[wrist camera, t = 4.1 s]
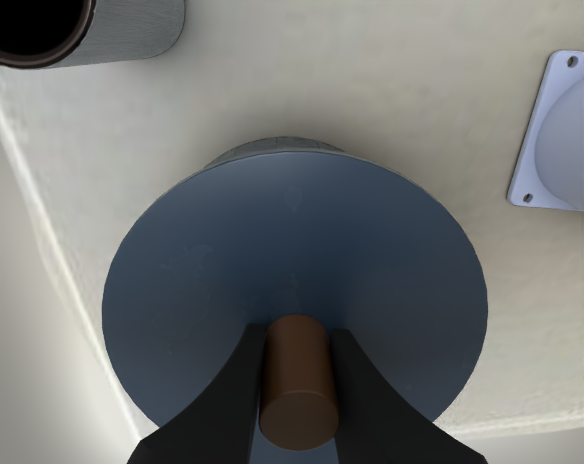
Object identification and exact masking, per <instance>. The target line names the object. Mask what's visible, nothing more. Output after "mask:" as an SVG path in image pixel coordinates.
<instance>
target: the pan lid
mask: <svg viewBox="0 0 584 464" xmlns="http://www.w3.org/2000/svg"><path fill="white" fill-rule="evenodd" d="M487 318H488V301H487V288H486V284H485V280H484V275H483V271H482V267H481V265H480V262H479V260H478V257H477V255H476V253H475V250H474V248H473V246H472V244H471V242H470V241H469V239H468V238H467V236H466V234H465V233H464V231H463V229H462V228H461V226H460V225H459V224H458V223H457V221H456V220H455V219H454V218H453V217H452V216H451V215H450V213H449V212H448V211H447V210H446V209H445V208H444V207H443V206H442V204H441V203H439V202H438V201H437V200H436V199H435V198H434V197H432V196H431V195H430V194H429V193H428V192H427V191H425V190H424V189H423V188H422V187H421V186H419V185H418V184H416V183H414V182H413V181H411V180H410V179H408V178H406V177H405V176H403V175H402V174H400V173H398V172H396V171H394V170H392V169H390V168H387V167H385V166H383V165H381V164H379V163H376V162H374V161H371V160H368V159H364V158H361V157H358V156H354V155H351V154H347V153H343V152H336V151H329V150H323V149H314V148H282V149H273V150H264V151H257V152H253V153H249V154H245V155H241V156H237V157H233V158H229V159H226V160H224V161H221V162H219V163H216V164H214V165H211V166H209V167H206V168H204V169H202V170H200V171H198V172H196V173H194V174H193V175H191V176H189V177H187V178H186V179H184V180H182V181H180V182H179V183H177V184H176V185H175V186H173V187H172V188H171V189H169V190H168V191H167V192H166V193H164V194H163V195H162V196H160V197H159V198H158V199H157V200H156V201H155V202H154V203H153V204H152V205H151V206H150V207H149V208H148V209H147V210H146V211H145V212H144V213H143V214H142V215H141V216H140V217H139V219H138V220H137V221H136V222H135V224H134V225H133V227H132V228H131V229H130V231H129V232H128V234H127V235H126V236H125V238H124V239H123V241H122V242H121V244H120V246H119V248H118V250H117V252H116V254H115V256H114V258H113V260H112V262H111V266H110V269H109V272H108V275H107V279H106V282H105V286H104V293H103V300H102V329H103V335H104V340H105V345H106V350H107V353H108V356H109V358H110V361H111V364H112V367H113V369H114V371H115V373H116V375H117V377H118V379H119V381H120V383H121V385H122V386H123V388H124V389H125V391H126V392H127V393H128V395H129V396H130V398H131V399H132V400H133V402H134V403H135V404H136V405H137V406H138V408H139V409H140V410H141V411H142V412H143V413H144V414H145V415H146V416H147V417H148V418H149V419H150V420H151V421H152V422H154V423H155V424H156V425H157V426H158V427H159V428H161V427H162V426H164V425H165V424H166V423H168V422H169V421H170V420H171V419H173V418H174V417H175V416H176V415H177V414H179V413H180V412H181V411H182V410H184V409H185V408H186V407H187V406H188V405H189V404H190V403H191V402H192V401H193V400H194V399H195V398H196V397H197V396H198V395H199V394H200V393H201V392H202V391H203V390H204V389H205V388H206V387H207V386H208V385H209V384H210V382H211V381H212V380H213V379H214V378H215V376H216V375H217V374H218V373H219V371H220V370H221V368H222V367H223V366H224V364H225V363H226V362H227V360H228V359H229V357H230V356H231V354H232V352H233V351H234V349H235V348H236V346H237V344H238V342H239V340H240V338H241V336H242V334H243V332H244V329H245V326H246V325H247V324H249V323H252V324H266V330H265V344H264V357H263V366H262V373H261V387H260V401H259V408H258V413H257V419H256V425H255V431H254V437H253V442H252V448H251V454H250V462H249V464H339V462H338V455H337V450H336V444H335V439H334V436H335V434H336V433H337V431H338V428H339V425H340V411H339V405H338V398H337V391H336V385H335V378H334V372H333V365H332V358H331V352H330V340H331V333H332V329H348V330H350V331H351V333H352V334H353V336H354V337H355V339H356V340H357V342H358V343H359V345H360V346H361V348H362V349H363V351H364V352H365V353H366V355H367V356H368V358H369V359H370V360H371V362H372V363H373V364H374V365H375V367H376V368H377V369H378V371H379V372H380V373H381V374H382V376H383V377H384V378H385V379H386V380H387V381H388V382H389V384H390V385H391V386H392V387H393V388H394V389H395V390H396V391H397V392H398V393H399V394H400V395H401V396H402V397H403V398H404V399H405V400H406V401H407V402H408V403H409V404H410V405H411V406H412V407H414V408H415V409H416V410H417V411H418V412H419V413H421V414H422V415H423V416H424V417H426V418H427V419H428V420H429V421H431V422H433V421H435V420H436V419H437V418H438V417H439V416H440V415H441V414H442V413H443V412H444V411H445V410H446V409H447V408H448V407H449V406H450V405H451V403H452V402H453V401H454V400H455V398H456V397H457V396H458V394H459V393H460V392H461V390H462V389H463V388H464V386H465V384H466V383H467V381H468V379H469V377H470V376H471V374H472V372H473V371H474V368H475V366H476V363H477V361H478V358H479V356H480V353H481V351H482V347H483V343H484V339H485V335H486V329H487Z"/></svg>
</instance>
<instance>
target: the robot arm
mask: <svg viewBox="0 0 584 464" xmlns="http://www.w3.org/2000/svg"><path fill="white" fill-rule="evenodd" d="M571 57H572V58H573V63H572V65H571V66H570V67H568V65H567V61H568V60H569V58H571ZM526 194H529V197H528V199H526V200H523V198H524V196H525V195H526ZM507 199H508V201H509V202H510V203H511V204H513V205H515V206H526V207H538V208H550V209H562V210H574V211H583V212H584V52H581V51H572V50H558V51H556V52H554V53H553V54H552V55H551V56H550V58H549V61H548V64H547V67H546V71H545V74H544V77H543V80H542V84H541V87H540V90H539V94H538V97H537V100H536V103H535V107H534V110H533V113H532V116H531V120H530V123H529V126H528V129H527V133H526V136H525V139H524V142H523V146H522V149H521V152H520V155H519V159H518V162H517V165H516V168H515V172H514V175H513V178H512V181H511V185H510V188H509V191H508V195H507ZM265 330H266V324H252V323H249V324H247V325H246V326H245V329H244V332H243V334H242V336H241V338H240V340H239V342H238V344H237V346H236V348H235V349H234V351H233V352H232V354H231V356H230V357H229V359H228V360H227V362H226V363H225V364H224V366H223V367H222V368H221V370H220V371H219V373H218V374H217V375H216V376H215V378H214V379H213V380H212V381H211V382H210V384H209V385H208V386H207V387H206V388H205V389H204V390H203V391H202V392H201V393H200V394H199V395H198V396H197V397H196V398H195V399H194V400H193V401H192V402H191V403H190V404H189V405H188V406H187V407H186V408H185V409H184V410H182V411H181V412H180V413H179V414H177V415H176V416H175V417H174V418H173V419H171V420H170V421H169V422H168V423H166V424H165V425H164V426H162V427H161V428H159V429H158V430H156V431H155V432H153V433H152V434H150V435H149V436H147V437H145V438H144V439H142V440H141V441H140V442H139V443H138V445H137V447H136V448H135V450H134V451H133V453H132V455H131V457H130V458H129V460H128V462H127V464H249V462H250V454H251V448H252V442H253V437H254V431H255V425H256V419H257V413H258V408H259V401H260V387H261V373H262V366H263V357H264V344H265ZM330 352H331V358H332V365H333V372H334V378H335V385H336V391H337V398H338V405H339V411H340V425H339V428H338V431H337V433H336V434H335V436H334V439H335V444H336V450H337V455H338V462H339V464H488V463H487V461H486V459H485V457H484V456H483V455H481V454H480V453H478V452H476V451H474V450H473V449H471V448H469V447H468V446H466V445H464V444H463V443H461V442H459V441H458V440H456V439H454V438H453V437H452V436H450V435H449V434H447V433H446V432H444V431H443V430H441V429H440V428H439V427H437V426H436V425H435V424H433V423H432V422H431V421H429V420H428V419H427V418H426V417H424V416H423V415H422V414H421V413H419V412H418V411H417V410H416V409H415V408H414V407H412V406H411V405H410V404H409V403H408V402H407V401H406V400H405V399H404V398H403V397H402V396H401V395H400V394H399V393H398V392H397V391H396V390H395V389H394V388H393V387H392V386H391V385H390V384H389V382H388V381H387V380H386V379H385V378H384V377H383V376H382V374H381V373H380V372H379V371H378V369H377V368H376V367H375V365H374V364H373V363H372V362H371V360H370V359H369V358H368V356H367V355H366V353H365V352H364V351H363V349H362V348H361V346H360V345H359V343H358V342H357V340H356V339H355V337H354V336H353V334H352V333H351V331H350V330H348V329H332V333H331V340H330Z"/></svg>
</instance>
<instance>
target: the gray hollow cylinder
mask: <svg viewBox="0 0 584 464" xmlns="http://www.w3.org/2000/svg"><path fill="white" fill-rule="evenodd" d="M184 18H185V5H184V0H0V65H1V66H4V67H8V68H13V69H19V70H39V69H50V68H60V67H69V66H79V65H88V64H98V63H107V62H117V61H126V60H136V59H145V58H150V57H154V56H157V55H159V54H161V53H163V52H165V51H166V50H168V49H169V48H170V47H171V46H172V45H173V44H174V43H175V41H176V40H177V39H178V37H179V35H180V33H181V30H182V27H183V24H184Z"/></svg>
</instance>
